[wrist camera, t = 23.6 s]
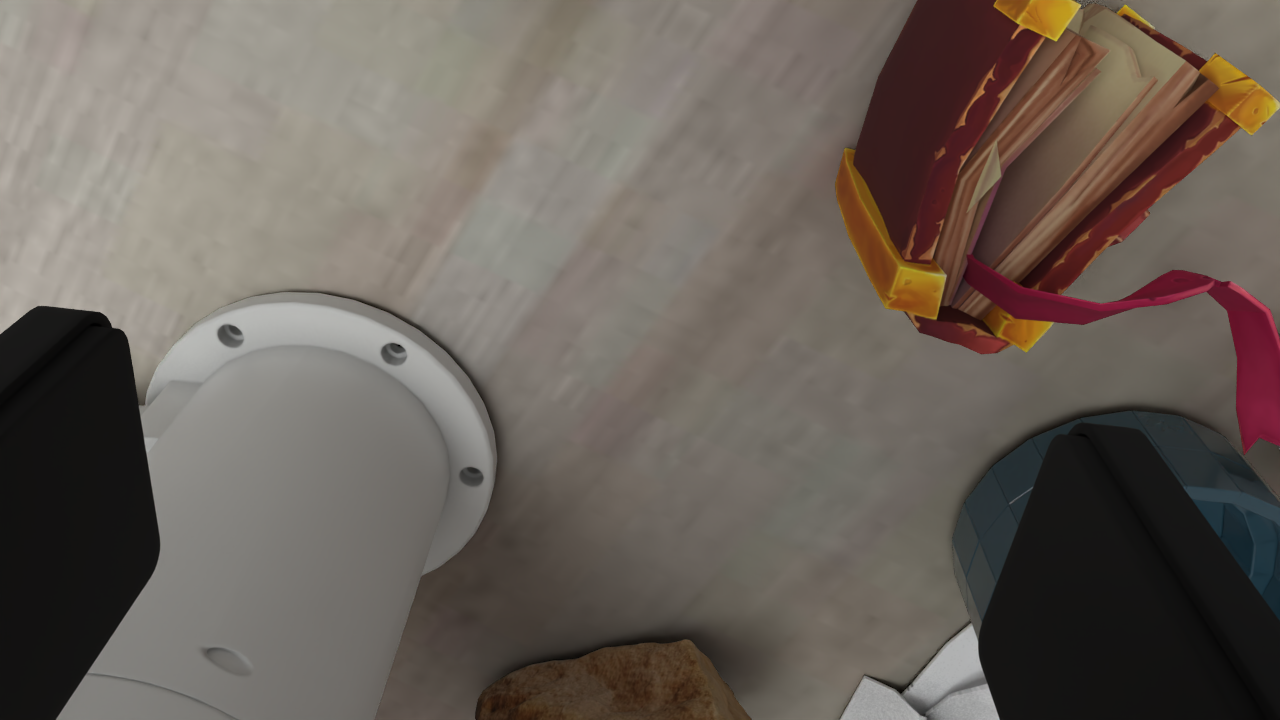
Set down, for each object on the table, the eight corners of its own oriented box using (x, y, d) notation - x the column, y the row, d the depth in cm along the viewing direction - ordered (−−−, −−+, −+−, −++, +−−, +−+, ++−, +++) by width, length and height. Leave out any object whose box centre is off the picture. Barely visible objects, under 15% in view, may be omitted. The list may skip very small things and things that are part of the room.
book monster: (963, -120, 27) (1259, 110, 31) (766, 149, 31) (1047, 327, 35) (1123, -42, 18) (1516, 272, 22) (818, 322, 22) (1189, 537, 26)
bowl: (917, 617, 41) (946, 716, 36) (994, 385, 35) (1039, 469, 31) (1184, 645, 41) (1245, 747, 37) (1301, 420, 36) (1388, 508, 31)
